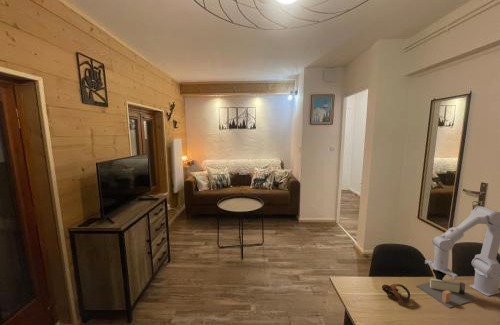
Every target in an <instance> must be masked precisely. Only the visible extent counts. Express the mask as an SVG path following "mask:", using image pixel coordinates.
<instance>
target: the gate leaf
mask: <svg viewBox="0 0 500 325" xmlns="http://www.w3.org/2000/svg"><path fill="white" fill-rule="evenodd" d="M429 282H430V288H433V289H439V290H445V291H446V290H448V291H451V292H457V293H459V290H460V282H456V281H455V282H454V281H451V280H450V281H449V280H448V281H447V280H443V279H442V280H437V279H436V278H430V279H429Z"/></svg>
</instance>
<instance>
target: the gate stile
mask: <svg viewBox="0 0 500 325" xmlns="http://www.w3.org/2000/svg"><path fill="white" fill-rule="evenodd" d="M450 296H451V292H449V291H448V290H446V291H443V293H442V301H443V302H445V303H448V302H450Z"/></svg>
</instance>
